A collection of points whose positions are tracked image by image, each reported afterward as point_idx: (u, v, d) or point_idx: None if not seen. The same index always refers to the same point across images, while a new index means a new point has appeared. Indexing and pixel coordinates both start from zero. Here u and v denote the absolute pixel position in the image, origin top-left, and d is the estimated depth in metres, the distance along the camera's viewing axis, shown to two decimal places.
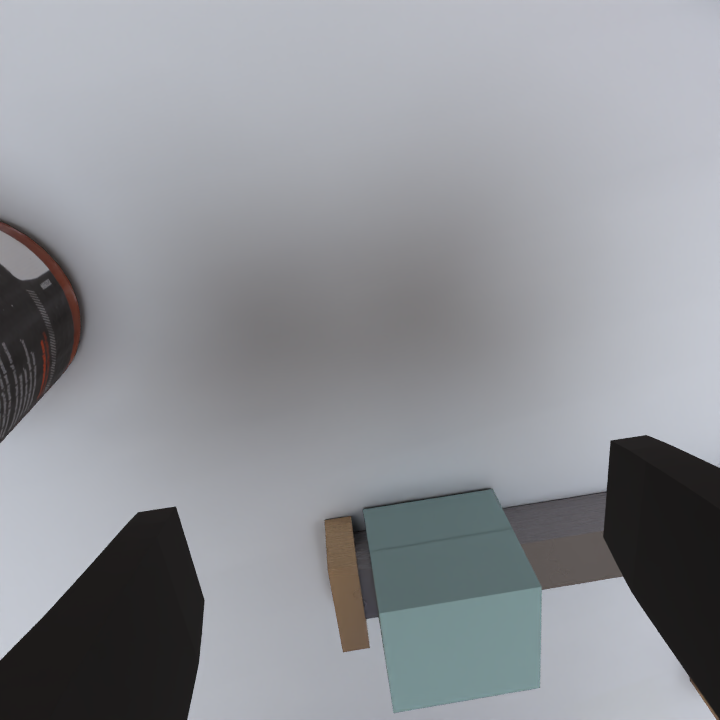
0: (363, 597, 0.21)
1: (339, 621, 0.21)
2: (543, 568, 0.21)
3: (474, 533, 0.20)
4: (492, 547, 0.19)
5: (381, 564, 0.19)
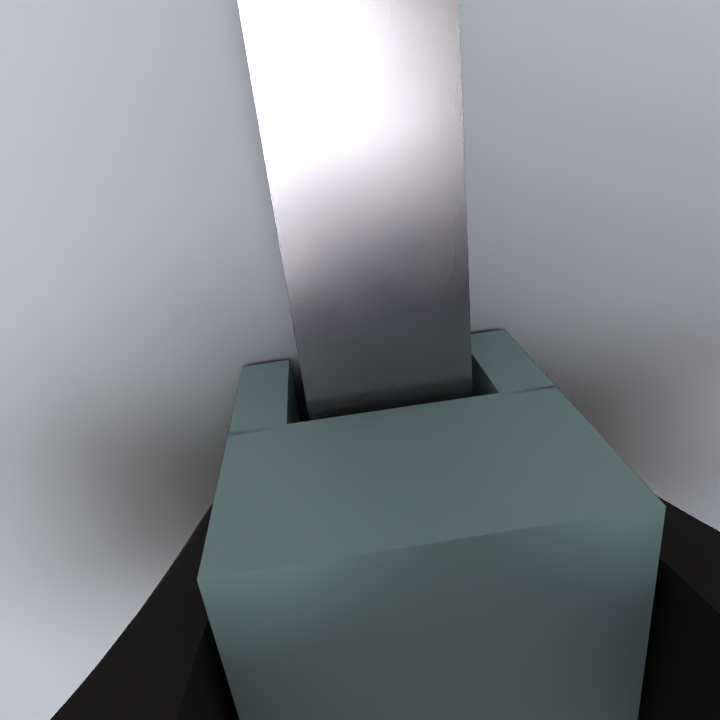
0: None
1: None
2: (394, 313, 0.08)
3: None
4: None
5: None
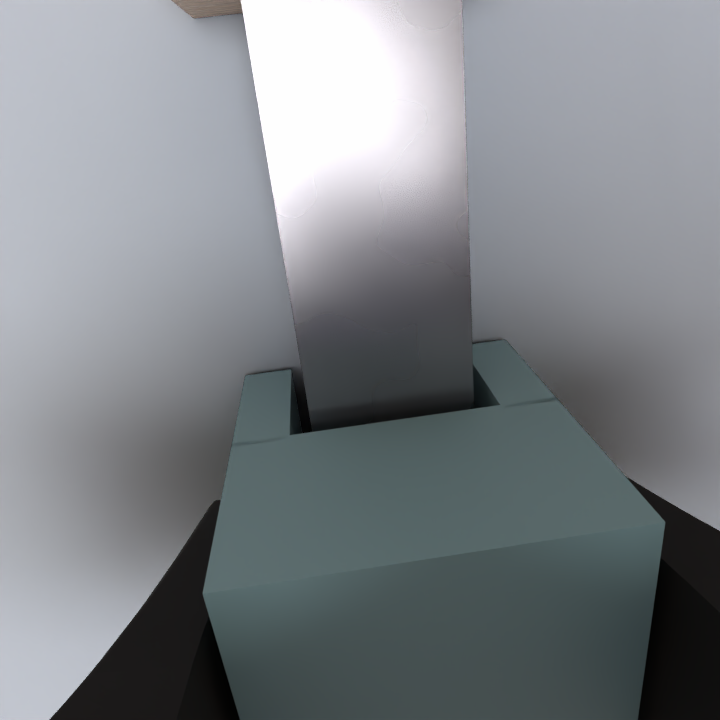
0: None
1: None
2: None
3: None
4: None
5: None
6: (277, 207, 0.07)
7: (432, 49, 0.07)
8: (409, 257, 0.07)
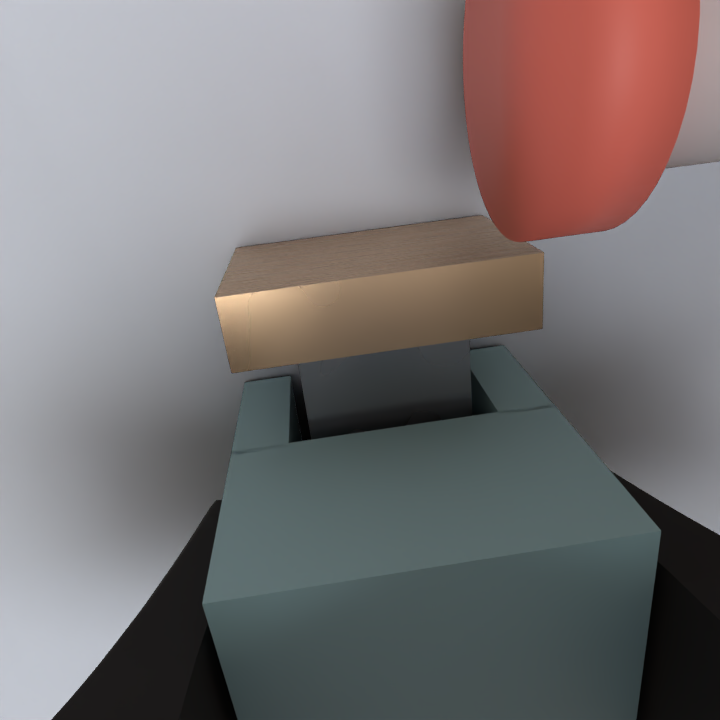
0: None
1: None
2: None
3: None
4: None
5: None
6: None
7: (446, 377, 0.08)
8: None
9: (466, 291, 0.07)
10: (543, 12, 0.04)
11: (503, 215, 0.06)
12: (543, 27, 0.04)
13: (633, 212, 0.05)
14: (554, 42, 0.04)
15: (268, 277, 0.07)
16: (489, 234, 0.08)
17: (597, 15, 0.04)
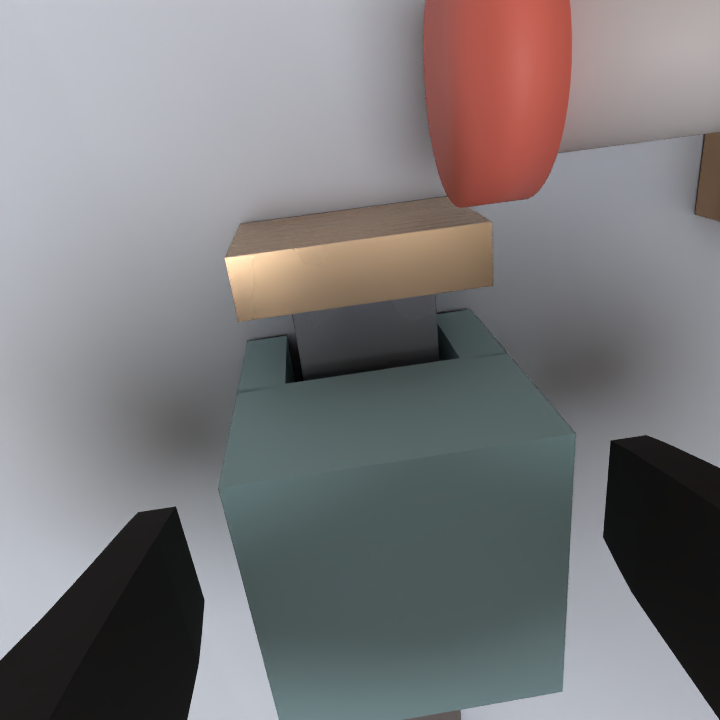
0: None
1: None
2: None
3: None
4: None
5: None
6: None
7: (416, 330, 0.10)
8: None
9: (429, 253, 0.09)
10: (468, 34, 0.06)
11: (453, 187, 0.07)
12: (469, 45, 0.06)
13: (543, 182, 0.07)
14: (475, 56, 0.06)
15: (268, 243, 0.09)
16: (452, 209, 0.10)
17: (499, 38, 0.05)
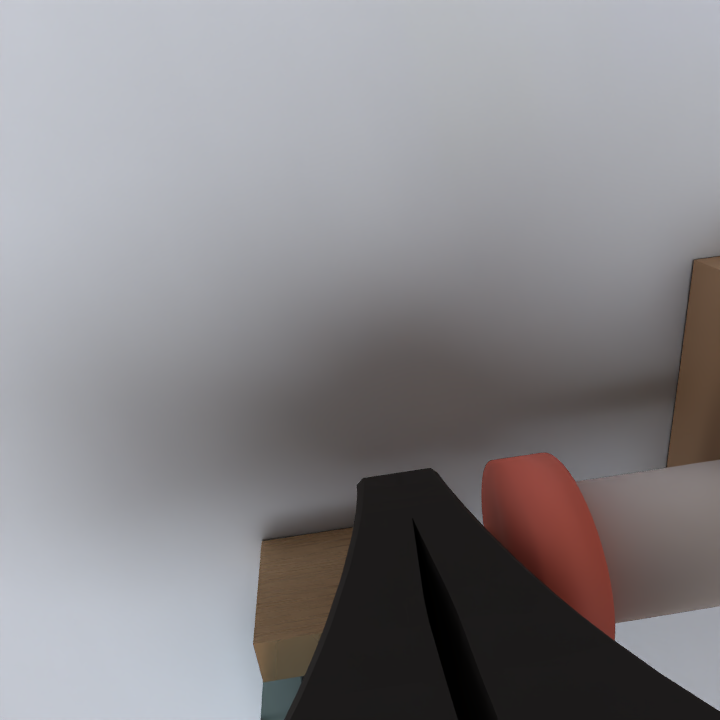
0: None
1: None
2: None
3: None
4: None
5: None
6: None
7: None
8: None
9: None
10: None
11: None
12: None
13: None
14: None
15: (288, 612, 0.11)
16: None
17: None
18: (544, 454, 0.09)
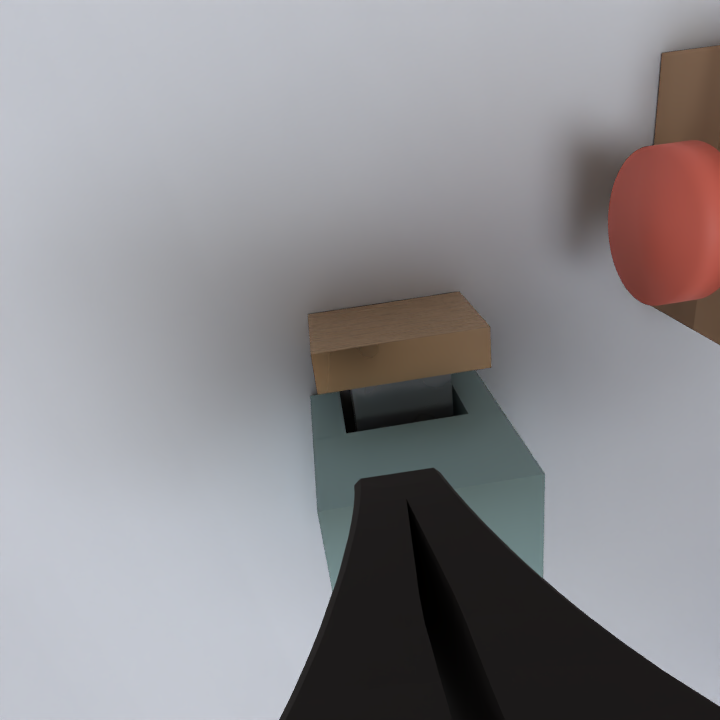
0: None
1: None
2: None
3: None
4: None
5: None
6: None
7: (437, 394, 0.14)
8: None
9: (447, 348, 0.13)
10: (675, 217, 0.10)
11: (638, 289, 0.12)
12: (674, 222, 0.10)
13: (708, 295, 0.11)
14: (681, 231, 0.10)
15: (336, 340, 0.13)
16: (462, 310, 0.14)
17: (703, 229, 0.10)
18: None
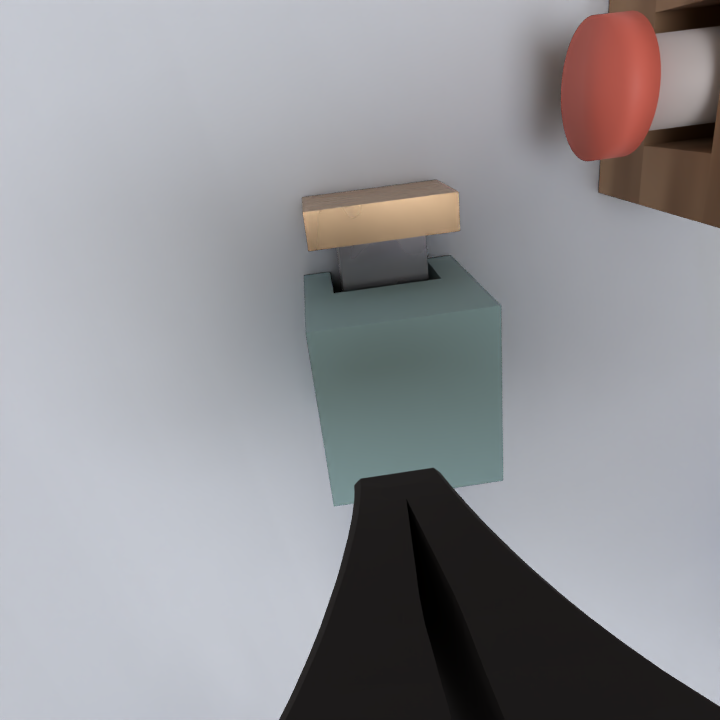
0: None
1: None
2: None
3: None
4: None
5: None
6: None
7: (414, 261, 0.16)
8: None
9: (421, 210, 0.15)
10: (607, 71, 0.12)
11: (583, 150, 0.14)
12: (607, 76, 0.12)
13: (638, 145, 0.13)
14: (611, 82, 0.12)
15: (325, 205, 0.15)
16: (436, 186, 0.16)
17: (627, 75, 0.12)
18: None
